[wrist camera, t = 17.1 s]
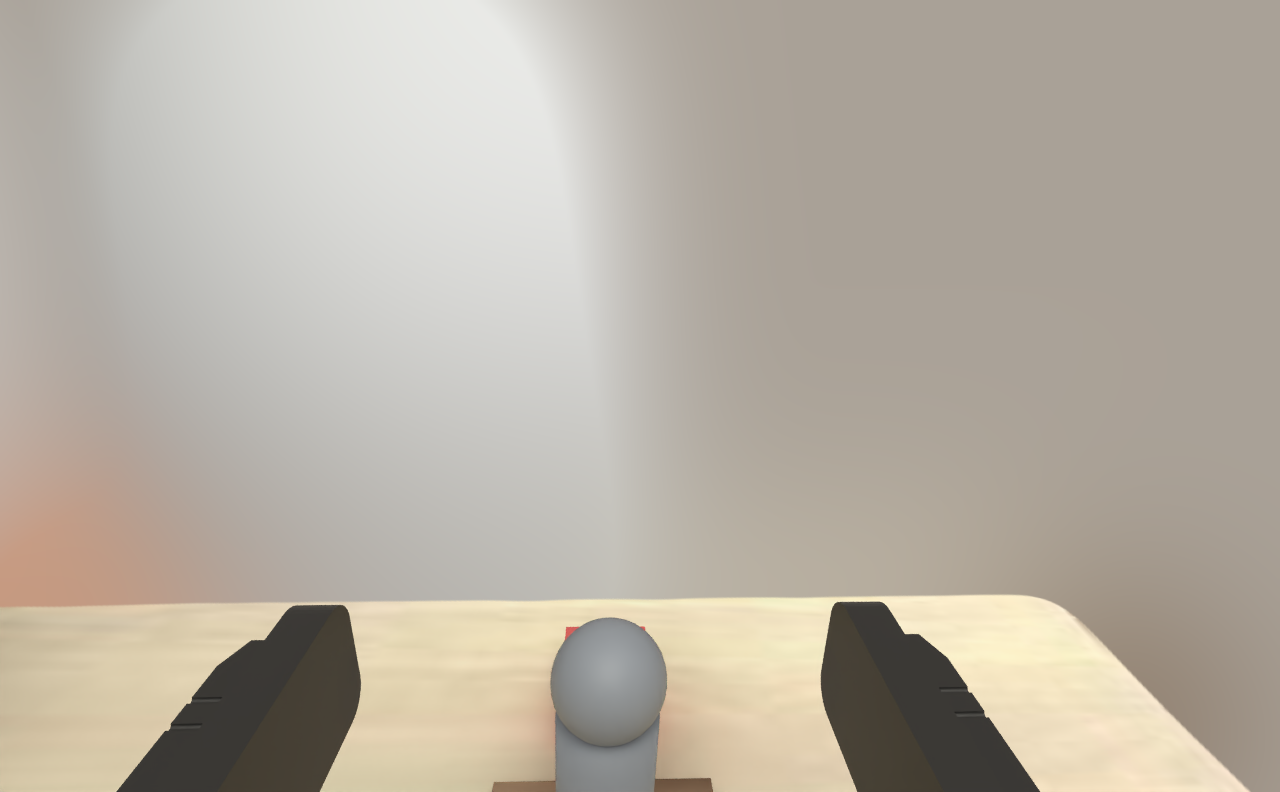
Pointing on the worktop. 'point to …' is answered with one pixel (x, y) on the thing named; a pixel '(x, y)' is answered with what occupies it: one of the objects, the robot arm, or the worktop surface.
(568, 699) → the pawn
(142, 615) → the worktop surface
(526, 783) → the game track
